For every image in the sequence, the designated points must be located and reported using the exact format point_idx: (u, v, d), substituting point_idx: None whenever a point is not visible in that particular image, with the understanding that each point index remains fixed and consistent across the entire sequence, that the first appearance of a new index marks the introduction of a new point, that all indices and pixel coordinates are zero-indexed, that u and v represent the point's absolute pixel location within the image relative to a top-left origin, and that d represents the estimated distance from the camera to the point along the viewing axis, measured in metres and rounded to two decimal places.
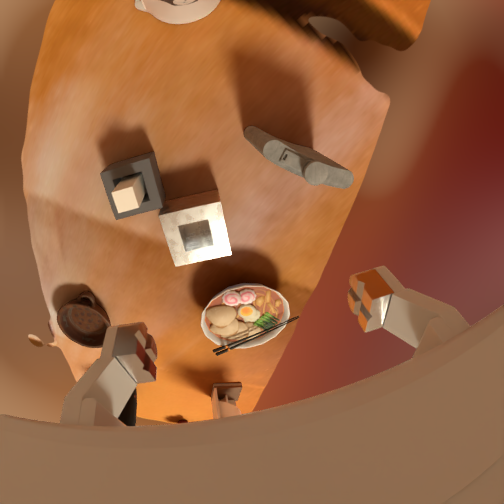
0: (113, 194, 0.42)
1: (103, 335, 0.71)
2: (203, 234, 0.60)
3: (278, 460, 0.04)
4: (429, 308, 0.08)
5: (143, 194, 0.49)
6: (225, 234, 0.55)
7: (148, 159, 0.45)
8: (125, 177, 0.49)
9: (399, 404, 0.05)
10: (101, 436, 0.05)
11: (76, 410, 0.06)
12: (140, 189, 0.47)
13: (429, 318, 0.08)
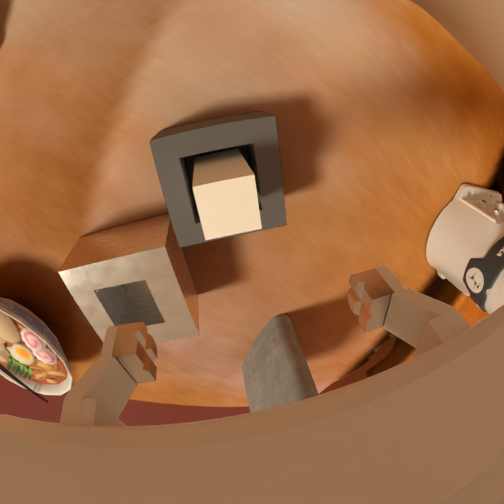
0: (248, 179, 0.17)
1: None
2: (118, 285, 0.31)
3: (278, 460, 0.04)
4: (429, 308, 0.08)
5: None
6: None
7: (284, 223, 0.25)
8: None
9: (399, 404, 0.05)
10: (101, 436, 0.05)
11: (76, 410, 0.06)
12: None
13: (429, 318, 0.08)
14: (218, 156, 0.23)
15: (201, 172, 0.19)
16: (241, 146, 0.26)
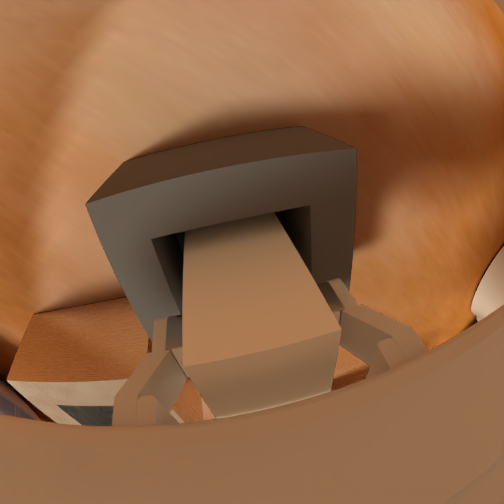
0: (325, 340, 0.07)
1: None
2: None
3: (278, 461, 0.04)
4: (381, 328, 0.07)
5: None
6: None
7: None
8: None
9: (399, 404, 0.05)
10: (101, 436, 0.05)
11: (131, 410, 0.06)
12: None
13: (381, 339, 0.08)
14: (231, 222, 0.12)
15: (201, 287, 0.09)
16: None
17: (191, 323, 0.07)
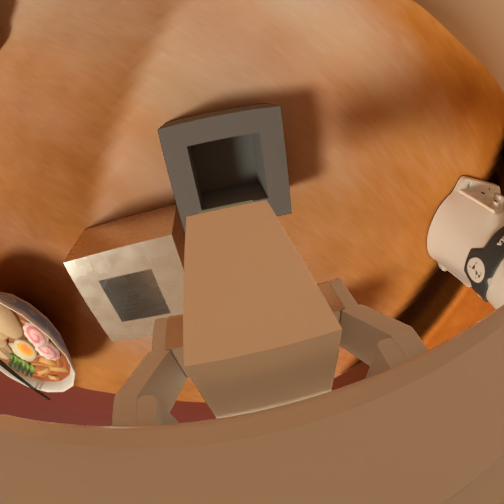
0: (326, 340, 0.07)
1: None
2: (123, 277, 0.31)
3: (278, 460, 0.04)
4: (381, 328, 0.07)
5: None
6: (146, 334, 0.30)
7: (289, 211, 0.26)
8: None
9: (399, 404, 0.05)
10: (101, 436, 0.05)
11: (131, 410, 0.06)
12: None
13: (382, 339, 0.08)
14: (232, 222, 0.12)
15: (201, 287, 0.09)
16: (246, 137, 0.26)
17: (192, 323, 0.07)
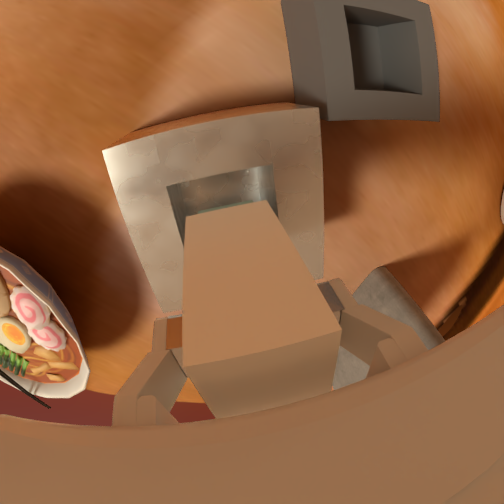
0: (325, 340, 0.07)
1: None
2: (185, 209, 0.21)
3: (278, 460, 0.04)
4: (381, 328, 0.07)
5: None
6: None
7: (437, 119, 0.16)
8: None
9: (399, 404, 0.05)
10: (101, 436, 0.05)
11: (131, 410, 0.06)
12: None
13: (381, 338, 0.08)
14: (232, 222, 0.12)
15: (200, 287, 0.09)
16: (374, 37, 0.16)
17: (191, 323, 0.07)
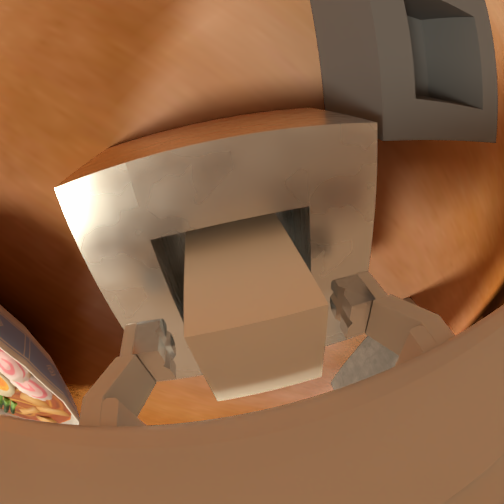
0: (314, 314, 0.07)
1: None
2: (182, 249, 0.17)
3: (278, 460, 0.04)
4: (411, 316, 0.08)
5: None
6: None
7: (494, 139, 0.11)
8: None
9: (399, 404, 0.05)
10: (101, 436, 0.05)
11: (96, 410, 0.06)
12: None
13: (411, 326, 0.08)
14: None
15: (201, 269, 0.09)
16: (418, 32, 0.11)
17: (192, 300, 0.08)
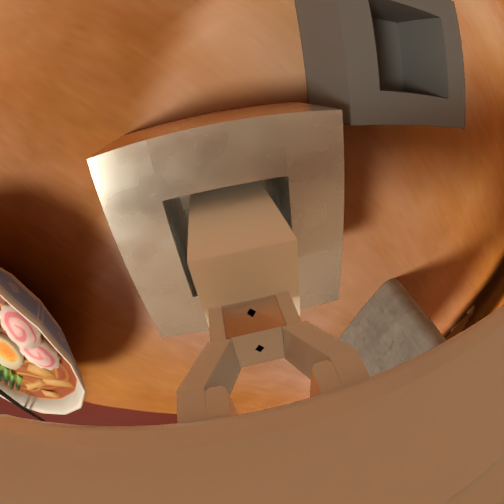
0: (286, 247, 0.10)
1: None
2: (185, 222, 0.19)
3: (278, 460, 0.04)
4: (320, 348, 0.07)
5: None
6: None
7: (462, 125, 0.13)
8: None
9: (399, 404, 0.05)
10: (101, 436, 0.05)
11: (199, 403, 0.06)
12: None
13: (322, 359, 0.07)
14: None
15: (201, 222, 0.12)
16: (393, 34, 0.14)
17: (194, 240, 0.11)
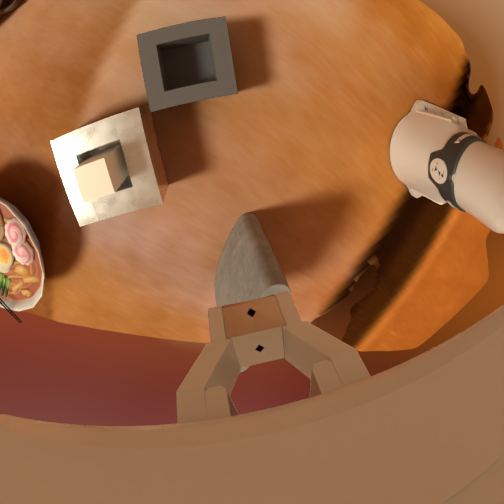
0: (101, 161, 0.24)
1: None
2: None
3: (278, 460, 0.04)
4: (321, 348, 0.07)
5: None
6: (110, 214, 0.31)
7: (235, 92, 0.27)
8: None
9: (399, 404, 0.05)
10: (101, 436, 0.05)
11: (199, 403, 0.06)
12: None
13: (322, 359, 0.07)
14: (107, 149, 0.29)
15: (86, 160, 0.26)
16: (205, 49, 0.28)
17: (79, 165, 0.25)
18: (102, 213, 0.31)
